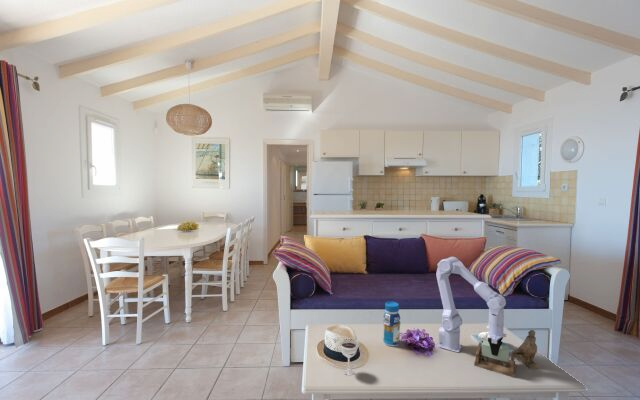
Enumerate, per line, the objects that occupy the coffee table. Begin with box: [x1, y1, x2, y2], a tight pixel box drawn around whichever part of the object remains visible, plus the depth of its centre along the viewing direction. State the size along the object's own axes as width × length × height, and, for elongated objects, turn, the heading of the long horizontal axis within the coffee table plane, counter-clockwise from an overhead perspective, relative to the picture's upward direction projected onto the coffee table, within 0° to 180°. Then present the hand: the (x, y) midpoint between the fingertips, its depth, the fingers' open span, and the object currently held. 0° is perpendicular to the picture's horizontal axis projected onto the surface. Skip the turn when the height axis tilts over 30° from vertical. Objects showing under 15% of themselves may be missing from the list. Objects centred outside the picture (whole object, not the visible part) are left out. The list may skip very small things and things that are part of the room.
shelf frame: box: [473, 341, 516, 378], centre depth 134 cm, size 15×12×6 cm
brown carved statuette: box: [513, 329, 539, 370], centre depth 136 cm, size 12×6×18 cm, turn 176°
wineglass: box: [340, 339, 358, 376], centre depth 128 cm, size 7×7×12 cm
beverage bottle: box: [382, 301, 401, 347], centre depth 153 cm, size 8×8×20 cm
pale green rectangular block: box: [481, 340, 510, 362], centre depth 134 cm, size 10×4×5 cm, turn 57°
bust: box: [478, 325, 491, 341], centre depth 152 cm, size 12×8×11 cm
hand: (495, 352), depth 134 cm, fingers closed on pale green rectangular block, 4 cm apart
